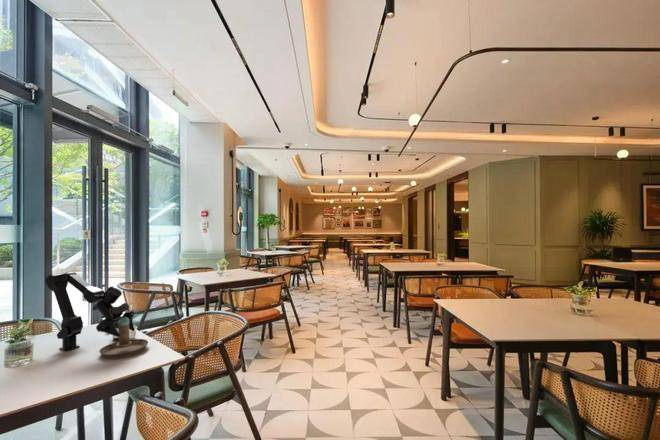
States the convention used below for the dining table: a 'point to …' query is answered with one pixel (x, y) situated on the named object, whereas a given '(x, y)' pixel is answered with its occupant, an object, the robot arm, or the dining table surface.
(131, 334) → the spread jar
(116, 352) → the plant saucer
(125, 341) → the bead column
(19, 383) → the dining table surface
